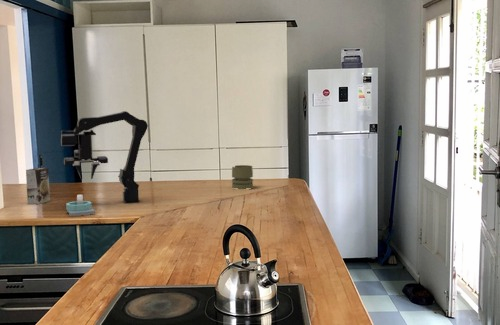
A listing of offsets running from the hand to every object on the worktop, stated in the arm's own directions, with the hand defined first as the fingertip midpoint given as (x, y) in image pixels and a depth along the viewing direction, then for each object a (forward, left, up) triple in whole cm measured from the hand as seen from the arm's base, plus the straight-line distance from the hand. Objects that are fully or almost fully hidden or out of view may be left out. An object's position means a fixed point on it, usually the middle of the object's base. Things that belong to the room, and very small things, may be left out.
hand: (86, 179), depth 238 cm
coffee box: (+20, -18, -12) cm, 30 cm away
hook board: (+5, +15, -12) cm, 20 cm away
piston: (-83, -12, -12) cm, 85 cm away
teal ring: (+5, +15, -10) cm, 19 cm away
